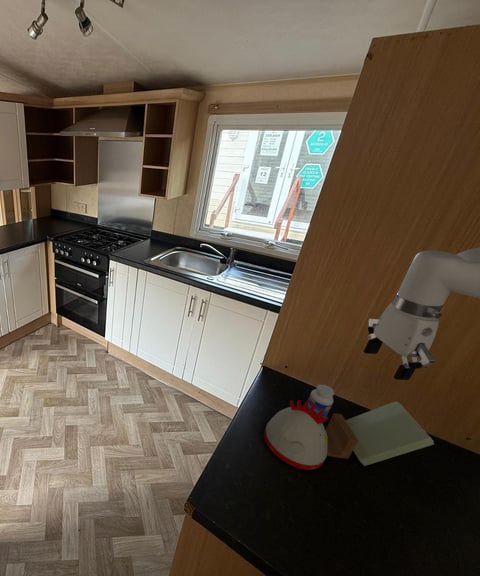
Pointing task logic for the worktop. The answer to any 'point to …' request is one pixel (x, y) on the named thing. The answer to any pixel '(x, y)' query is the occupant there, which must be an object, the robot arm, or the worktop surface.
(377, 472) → the worktop surface
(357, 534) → the worktop surface
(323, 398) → the pill bottle
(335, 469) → the worktop surface
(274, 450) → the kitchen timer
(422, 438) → the book
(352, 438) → the bookend
